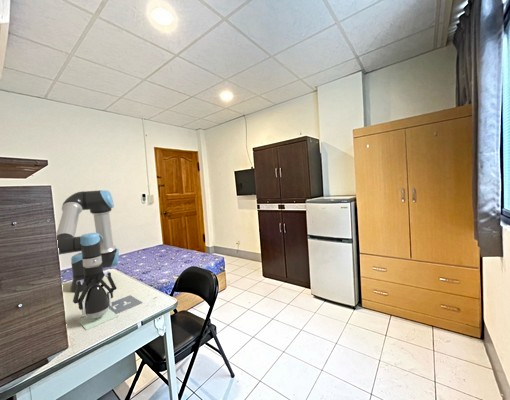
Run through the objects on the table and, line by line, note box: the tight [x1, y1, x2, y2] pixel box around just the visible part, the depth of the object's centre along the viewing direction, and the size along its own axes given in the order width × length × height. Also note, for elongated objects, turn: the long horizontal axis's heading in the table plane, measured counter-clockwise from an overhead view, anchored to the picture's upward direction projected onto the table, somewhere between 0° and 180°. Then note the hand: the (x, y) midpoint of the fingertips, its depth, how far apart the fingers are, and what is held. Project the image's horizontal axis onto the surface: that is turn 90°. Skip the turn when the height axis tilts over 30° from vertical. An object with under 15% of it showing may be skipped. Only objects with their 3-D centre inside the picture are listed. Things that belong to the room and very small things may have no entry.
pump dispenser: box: [84, 284, 110, 318], centre depth 111 cm, size 10×10×15 cm
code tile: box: [109, 294, 143, 315], centre depth 124 cm, size 16×16×1 cm
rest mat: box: [77, 308, 119, 331], centre depth 111 cm, size 13×13×1 cm
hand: (97, 310), depth 111 cm, fingers closed on pump dispenser, 10 cm apart
